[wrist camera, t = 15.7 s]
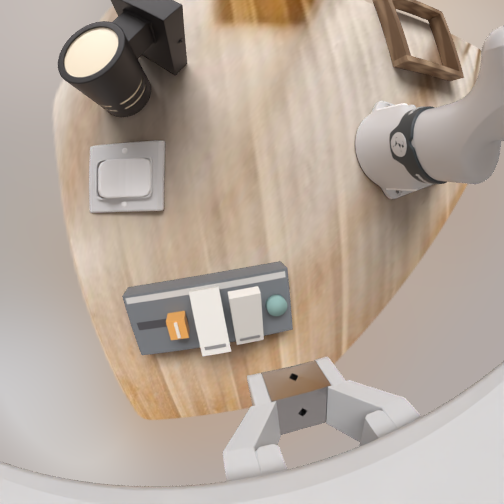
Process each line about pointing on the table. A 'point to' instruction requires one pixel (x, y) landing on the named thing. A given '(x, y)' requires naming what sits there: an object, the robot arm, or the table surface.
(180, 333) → the slider knob
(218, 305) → the panel
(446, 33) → the frame
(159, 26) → the light fixture
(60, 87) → the table surface
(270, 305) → the button
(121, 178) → the light switch
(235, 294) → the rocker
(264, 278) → the panel
